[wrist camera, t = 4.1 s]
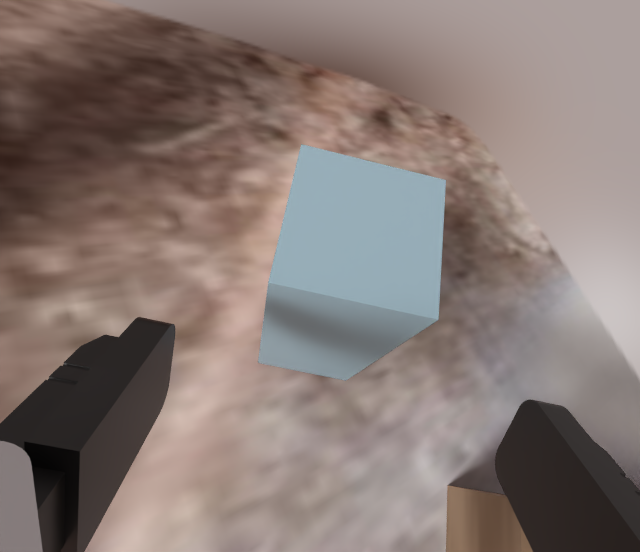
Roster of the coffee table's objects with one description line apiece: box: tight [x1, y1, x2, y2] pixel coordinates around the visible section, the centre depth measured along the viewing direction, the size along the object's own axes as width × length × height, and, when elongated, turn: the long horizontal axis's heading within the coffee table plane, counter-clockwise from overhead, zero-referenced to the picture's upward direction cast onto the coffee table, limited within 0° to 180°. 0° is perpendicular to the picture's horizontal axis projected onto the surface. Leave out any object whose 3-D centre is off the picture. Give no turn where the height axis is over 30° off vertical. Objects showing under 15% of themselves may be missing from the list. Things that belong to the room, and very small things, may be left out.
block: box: [258, 144, 446, 380], centre depth 16 cm, size 4×4×11 cm
